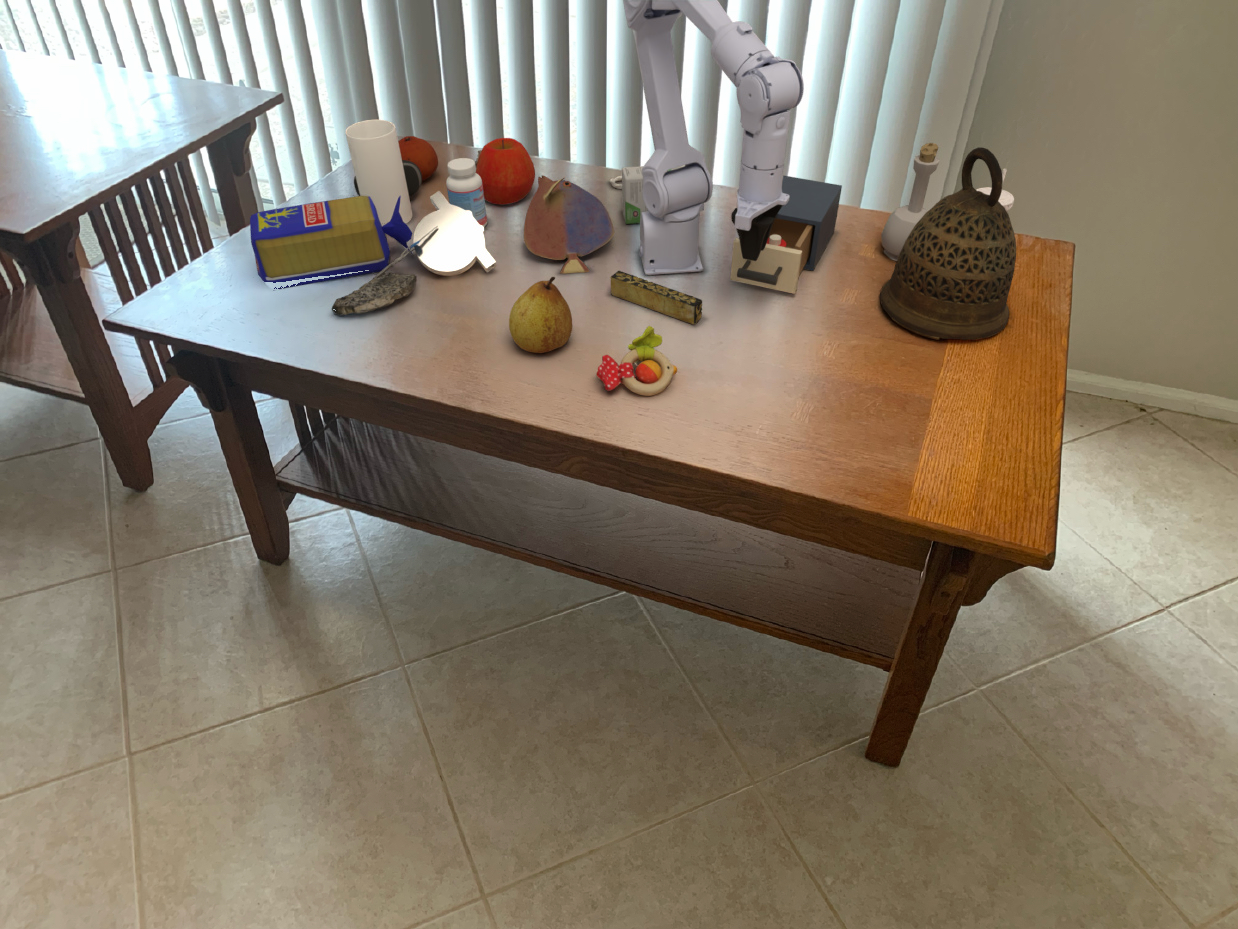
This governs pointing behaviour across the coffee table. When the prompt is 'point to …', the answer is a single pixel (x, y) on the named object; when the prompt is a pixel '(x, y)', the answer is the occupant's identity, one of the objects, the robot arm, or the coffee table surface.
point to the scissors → (400, 257)
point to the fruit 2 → (540, 318)
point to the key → (619, 178)
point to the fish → (566, 223)
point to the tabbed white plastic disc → (450, 240)
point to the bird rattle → (639, 367)
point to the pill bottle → (466, 188)
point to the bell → (956, 264)
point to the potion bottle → (910, 204)
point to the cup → (379, 167)
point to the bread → (324, 240)
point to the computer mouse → (406, 177)
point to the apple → (505, 171)
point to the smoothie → (1005, 197)
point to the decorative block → (656, 297)
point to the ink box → (633, 194)
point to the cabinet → (812, 210)
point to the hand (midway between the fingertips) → (753, 253)
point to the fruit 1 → (419, 154)
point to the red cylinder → (776, 241)
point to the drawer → (776, 258)
